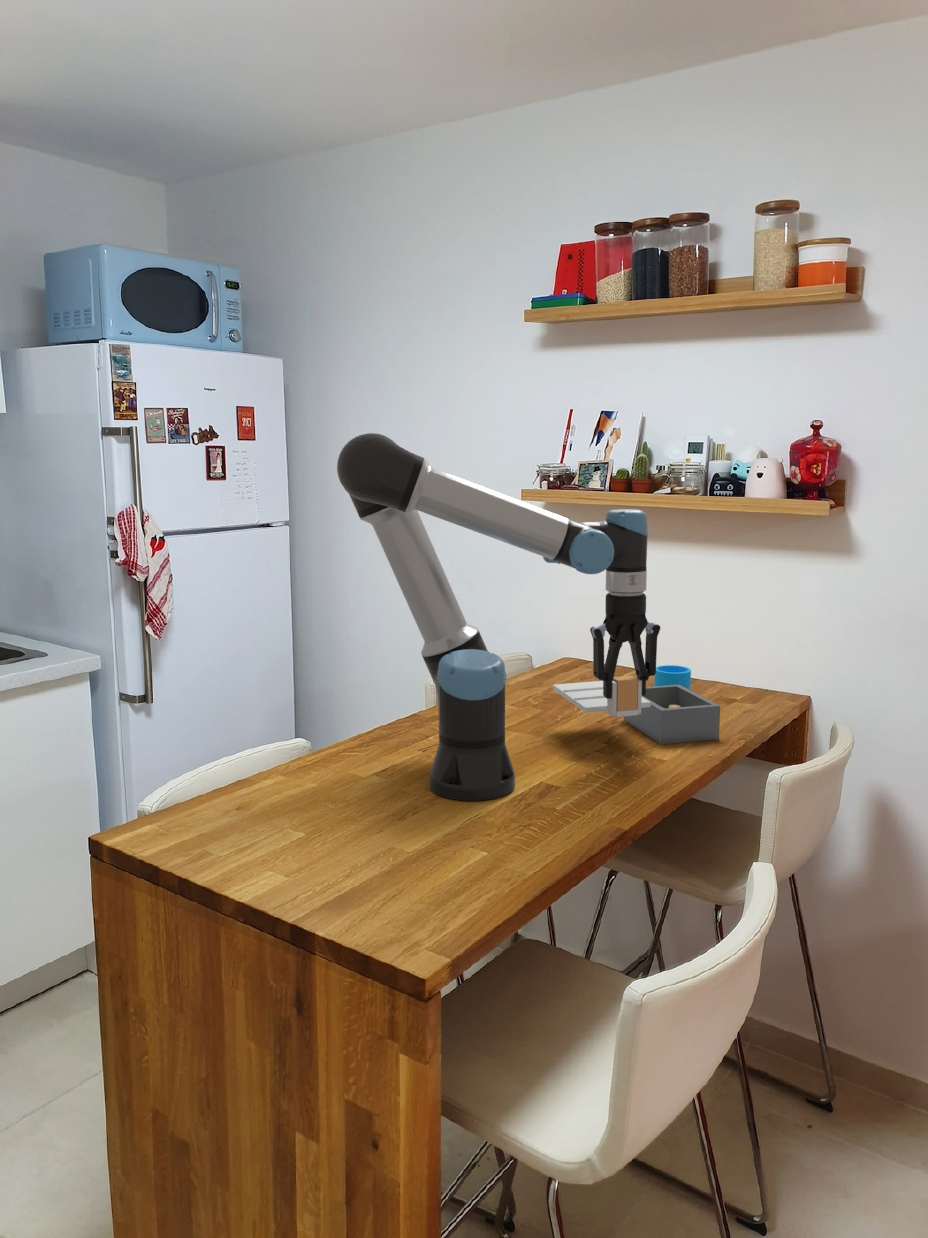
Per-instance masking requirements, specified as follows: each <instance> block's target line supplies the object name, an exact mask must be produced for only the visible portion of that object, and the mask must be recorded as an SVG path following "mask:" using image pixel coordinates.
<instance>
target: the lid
mask: <svg viewBox="0 0 928 1238" xmlns="http://www.w3.org/2000/svg"><path fill="white" fill-rule="evenodd" d="M635 677H636V676H632V675H624V676H623V675H622V676H614V678H613V681H615V682H616V683H617V709H616V716H615V717H616V718H620V717H624V716H632V715H638V709H637V684H638V679H637V677H636V678H635ZM552 690H553V691H554V692H556V693H557V694H559V695H561V697H563V698H564V699H566V700H567V701H569V703H570V704H573V705H574V706H575V707H577V708H578V709H580V710H581V711H582V712H584V713H587V714H588V713H598V712H607V698H605V697H604V695H603V680H595V681H583V682H570V683H569V682H567V683H558V684H552ZM645 707H651V702H650V701H648V700H646V699H645V698H643V697H642V701H641V708H645Z"/></svg>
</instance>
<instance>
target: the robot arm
mask: <svg viewBox="0 0 928 1238" xmlns="http://www.w3.org/2000/svg"><path fill="white" fill-rule="evenodd" d="M336 463H337V465H336V473H337V477H338V479H339V483H340V484H341V485H342V487H343V489H344V490H345V492H346V493H348V495H349V497H350V499H351V500H350V501H352V504H353V506H354V508H355V510H356V512H357V514H358V515H357V516H358V517H359V519H360V520H361V521H363V522H365V523H368V524H370V525H371V526H372V528H373V530H374V532H375V535H376V536H377V538H378V542H379V543H380V546H381V549H383V552H384V555H385V557H386V559H387V561H388V563H389V566H390V567H391V570H392V572H393V575H394V577H395V579H396V581H397V583H398V586H399V588H400V590H401V592H402V595H403V597H404V600H405V601H406V604H407V606H408V607H409V611H410V613H411V615H412V616H413V619H414V621H415V623H416V626H417V628H418V631H419V632H420V635H421V637H422V639H423V641H424V642H423V643H424V644H423V646H422V649H421V652H420V654H421V656H422V658H423V661H424V664H425V665H426V668H427V670H428V673H429V674H430V677H431V679H432V681H433V684H434V686H435V688H436V693H437V694H436V695H437V699H438V746H437V749H436V753H435V756H434V759H433V762H432V765H431V769H430V770H429V771H430V772H429V788H430V790H431V791H432V792H433V793H434V794H436V795H437V796H440V797H443V798H446V799H451V800H454V801H467V802H469V801H470V802H471V801H472V802H473V801H476V802H478V801H488V800H494V799H498V798H501V797H504V796H506V795H508V794H510V793H512V792H513V790H515V787H516V773H515V770H514V767H513V764H512V761H511V760H512V759H511V757H510V755H509V752H508V749H507V745H506V683H507V673H506V668H505V667H506V666H505V662H504V660H503V659H502V657H500V656H499V655H497V654H495V653H494V652H490V651H489V650H488V649H487V646H486V644H485V642H484V639H483V637H482V636H481V633H480V630H479V628H478V627H476V626H474V625H472V624H469V623H468V622H467V620H466V619H465V616H464V614H463V611H462V610H461V606H460V604H459V602H458V601H457V600H458V599H457V598H456V596H455V594H454V590H453V589H452V586H451V584H450V582H449V579H448V577H447V575H446V573H445V570H444V568H443V566H442V564H441V561H440V559H439V556H438V554H437V552H436V550H435V547H434V545H433V542H432V541H431V537H429V534H428V531H427V530H426V526H425V524H424V523H423V520H422V518H421V516H420V513H419V512H421V513H424V514H425V515H430V516H431V517H435V518H438V519H440V520H443V521H446V522H448V523H451V524H454V525H456V526H459V527H461V528H465V529H468V530H470V531H473V532H475V533H479V534H480V535H484V536H486V537H488V538H492V539H495V540H497V541H501V542H503V543H505V544H508V545H511V546H512V547H513V546H514V547H516V548H519V549H521V550H524V551H527V552H529V553H533V554H535V555H539V556H541V557H543V560H544V562H545V563H548V564H558V565H561V564H562V565H565V566H567V567H570V568H573V569H575V570H576V571H577V572H579V573H581V574H582V573H583V574H585V575H596V574H597V575H598V574H600V573H602V572H604V571H605V591H606V592H608V593H606V594H605V618H604V620H603V622H602V624H600V625H598V626H596V627H595V626H592V627H590V629H589V632H590V634H591V636H592V640H593V641H592V647H593V648H592V651H593V652H592V653H593V654H592V655H593V657H592V658H593V660H592V661H593V665H592V666H593V670H592V671H593V676H594V678H596V679H598V681H603V695H604V697H605V698H607V711H606V713H607V714H608V715H610V716H612V717H616V709H617V683H616V682H615V681H613V678H614V677H615V673H616V667H617V664H618V659H619V655H620V651H621V648H622V647H623V644H624V643H626V642H628V643H629V647H630V652H631V656H632V662H633V666H634V670H635V676H634V677H635V678H637V679H638V684H637V709H638V714H641V701H642V696H644V695H645V693H646V687H647V682H648V681H649V679H650V677H651V676H652V677H653V676H654V677H655V674H656V667H657V652H658V650H657V649H658V636H659V634H660V631H661V626H660V624H657V623H654V622H649V621H648V619H647V616H646V612H647V595H646V594H645V593H644V592H646V591H647V579H648V578H647V574H648V573H647V558H648V557H647V555H648V539H649V538H648V537H649V533H648V516H647V514H646V512H645V511H643V510H640V509H632V508H631V509H629V508H628V509H624V508H622V509H609V510H608V511H607V512H606V518H604V519H605V520H601V521H575V520H571V519H569V518H567V517H564V516H562V515H559V514H557V513H554V512H551V511H548V510H547V509H543V508H541V507H538V506H536V505H533V504H531V503H528V502H524V501H522V500H519V499H517V498H514V497H511V496H508V495H506V494H503V493H501V492H498V491H496V490H493V489H490V488H488V487H485V486H483V485H480V484H477V483H474V482H472V481H469V480H467V479H464V478H462V477H459V476H456V475H453V474H451V473H449V472H445V471H444V470H443V471H442V470H440V469H437V468H436V467H433V466H431V465H430V464H429V462H428V460H427V458H425V457H423V456H421V455H418V454H415V453H413V452H411V451H409V450H407V449H405V448H403V447H402V446H400V445H398V444H397V442H395V441H394V440H393V439H391V438H390V437H388V436H386V435H383V434H380V433H375V432H372V433H371V432H370V433H365V434H364V433H363V434H359V435H358V436H355V437H352V438H351V439H350V440H349V441H348V442H347V443H346V444H345V445H344V446H343V447H342V449H341V451H340V453H339V456H338V458H337V462H336ZM644 630H645V646H644V647H645V648H644V650H645V655H644V653H643V649H642V639H641V635H642V634H643V632H644ZM606 632H607V633H608V635H609V641H608V649H607V653H606V659H605V640H604V637H605V636H606Z"/></svg>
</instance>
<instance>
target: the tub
mask: <svg viewBox="0 0 928 1238" xmlns="http://www.w3.org/2000/svg"><path fill="white" fill-rule="evenodd" d="M642 697H643V698H645V699H646V700H648V701H650V702H651V707H645V708H641V714H638V715H632V716H623V720H624V722H627V723H628V724H629V725H631V726H632V727H634V728H635V729H637V730H639V732H641V733H642V734H645V736H647V737H649V738H651V740H653V741H655V742H656V743H658V744H659V745H666V744H667V745H668V744H678V743H679V744H680V743H689V742H690V743H691V742H701V741H711V740H712V741H713V740H719V739H720V723H721V705H720V704H718V703H716V702H714V701H711V700H710V699H708V698H706V697H704V696H702V695H700V694H698V693H696V692H694V691H692V690H691V689H690V690H689V689H687V688H685V687H683V686H681V685H667V686H654V685H653V686H646V693H645V695H644V696H642Z"/></svg>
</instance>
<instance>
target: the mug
mask: <svg viewBox="0 0 928 1238" xmlns="http://www.w3.org/2000/svg"><path fill="white" fill-rule="evenodd" d="M691 674H692V669H691V668H689V667H687V666H683V665H674V664H670V665H669V664H667V665H658V666H656V674H655V675H654V679H653V681H654V685H653V687H654V686H667V685H681V686H683V687H685V688H687V689H689V690H691V679H692V678H691V677H692V675H691Z"/></svg>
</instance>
